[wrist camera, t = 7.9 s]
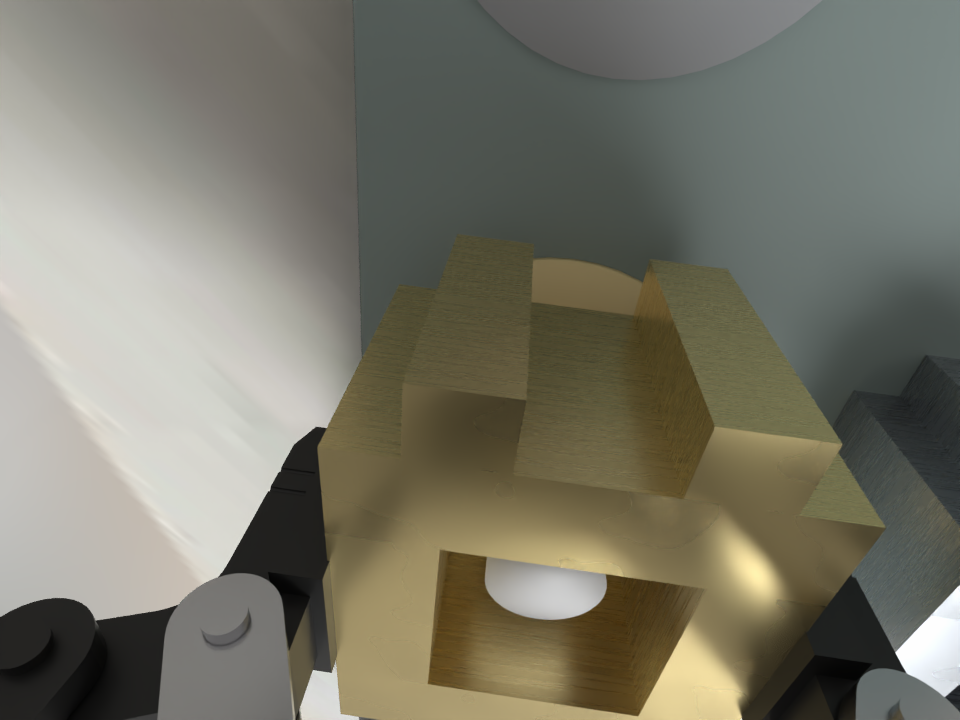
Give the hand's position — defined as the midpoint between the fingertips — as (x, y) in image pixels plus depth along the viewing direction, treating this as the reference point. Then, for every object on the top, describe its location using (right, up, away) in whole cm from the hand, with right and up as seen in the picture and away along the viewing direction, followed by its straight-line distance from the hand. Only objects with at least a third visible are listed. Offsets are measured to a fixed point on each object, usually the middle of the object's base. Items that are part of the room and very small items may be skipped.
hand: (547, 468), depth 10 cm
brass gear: (0, 0, 0) cm, 1 cm away
